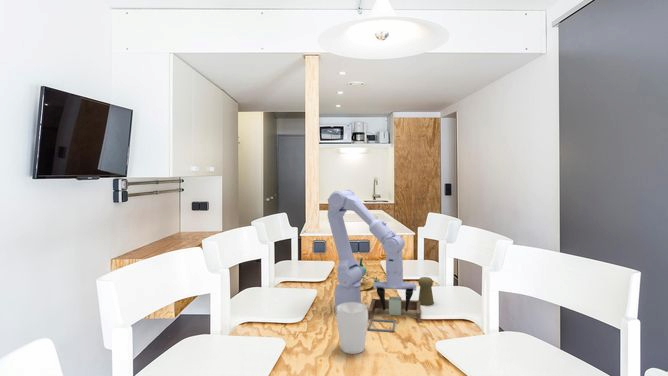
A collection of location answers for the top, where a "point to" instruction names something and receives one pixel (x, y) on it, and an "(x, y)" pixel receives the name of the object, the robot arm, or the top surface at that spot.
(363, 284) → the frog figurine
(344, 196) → the robot arm
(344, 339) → the cup
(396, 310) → the sage block
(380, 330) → the gray square frame
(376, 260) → the top surface
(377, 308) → the brown wooden box
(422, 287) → the cork
